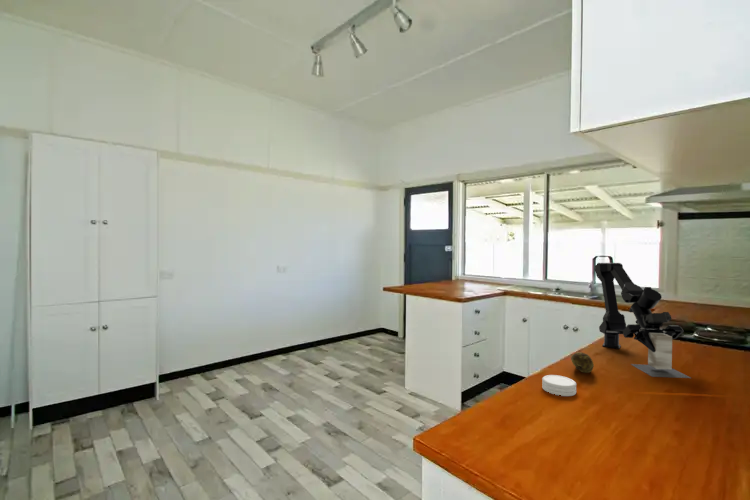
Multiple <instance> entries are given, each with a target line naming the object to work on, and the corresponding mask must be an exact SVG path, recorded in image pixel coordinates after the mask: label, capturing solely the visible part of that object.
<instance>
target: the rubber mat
mask: <svg viewBox="0 0 750 500" xmlns="http://www.w3.org/2000/svg"><path fill="white" fill-rule="evenodd" d="M630 365H631V366H632V367H634V368H636V369H637V370H639V371H641V372H643V373H645V374H646V375H648V376H650V377H651V378H673V379H674V378H678V379H680V378H681V379H692V377H691V376H688V375H686V374H685V373H682V372H680V371H679V370H676V369H675V368H674V367H673V368H672V369H656V368H654V367H652V366H650V365H649V364H638V363H637V364H636V363H630Z"/></svg>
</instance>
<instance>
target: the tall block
mask: <svg viewBox="0 0 750 500" xmlns="http://www.w3.org/2000/svg"><path fill="white" fill-rule="evenodd" d="M649 338H650V340H651V341H652V343H653V345H654V348H655V350H656V351H655V352H652V351H651V350H650V349H649V348H647V365H650V366H652V367H654V368H656V369H672V367H673V362H672V361H673V339H672V336H669V335H667V334H664V333H649Z"/></svg>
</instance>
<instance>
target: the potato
mask: <svg viewBox="0 0 750 500" xmlns="http://www.w3.org/2000/svg"><path fill="white" fill-rule="evenodd" d="M570 360H571V363H572V365H573V366H574V367H575V369H576V370H578V371H580V372H582V373H585V374H588V373H591V372H592V371H593V369H594V366H595V365H594V362H593V360H592V358H591V356H590V355H589V354H588V353H585V352H581V351H580V352H579V351H578V352H575V353H574V354H572V355H571V357H570Z"/></svg>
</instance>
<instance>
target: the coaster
mask: <svg viewBox="0 0 750 500" xmlns="http://www.w3.org/2000/svg"><path fill="white" fill-rule="evenodd" d="M541 380H542V382H541V383H542V384H541V385H542V386H541V387H542V389H543V391H545V392H547V393H548V392H549V394H551V395H554V394H555V395H554V396H559V395H561V396H560V397H572V396H575V395H576V394H577V382H576V381H575V380H573V379H572V378H569V377H567V376H564V375H563V376H562V375H559V374H558V375H557V374H548V375H544V376H543V377H542V378H541Z"/></svg>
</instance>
